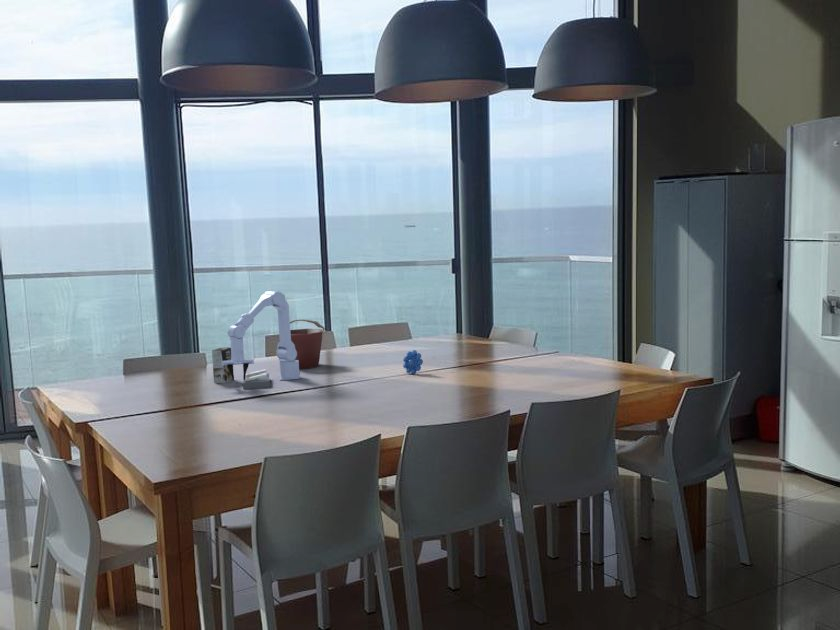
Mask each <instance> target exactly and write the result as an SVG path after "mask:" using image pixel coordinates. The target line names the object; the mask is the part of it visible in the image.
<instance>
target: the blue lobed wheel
mask: <svg viewBox="0 0 840 630" xmlns="http://www.w3.org/2000/svg"><path fill="white" fill-rule="evenodd" d="M402 359H403V364H402V367H403V369H406V370H405V373H407V374H412V375H415V374H417V372H420V371H421V369H422V365H423V364H424V363H423V362H424V360H423V359H422V353H419V352H418V351H417V350H416V349H415V350H414V349H413V350H412V351H407V352H406V356H404V357H403V358H402Z"/></svg>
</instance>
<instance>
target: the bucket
mask: <svg viewBox="0 0 840 630" xmlns="http://www.w3.org/2000/svg"><path fill="white" fill-rule="evenodd" d="M295 322H308V323H311V324H314V325H315V326H317V328H297V329H290V332H291V341H292V342H293V344H294V345H295V349H296V351H297V356H296V358H295V360H298V361H299V370H308V369H314V368H319V366H320V358H321V351H322V350H321V348H322V342H323V333H324V331H325V326H323V325H322V324H321V323H319V322H318V321H315V320H312V319H305V318H304V319H302V318H299V319H294V320H292V321H291V320H290V325H291V324H293V323H295ZM318 328H319V329H318Z"/></svg>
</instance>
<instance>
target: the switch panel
mask: <svg viewBox="0 0 840 630" xmlns="http://www.w3.org/2000/svg"><path fill="white" fill-rule="evenodd" d="M265 373H266V374H267V376H266V377H262V378H258V379H253V380H249V381H245V380H244V379H243V381H242V386H243V390H252V389H266V388H270V383H271V382H270V373H269V372H268V373H267V372H265ZM261 374H262V373H261ZM261 374H257V375H261ZM253 376H256V375H253ZM248 377H252V376H248ZM248 377H246V375H245V378H248Z"/></svg>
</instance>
